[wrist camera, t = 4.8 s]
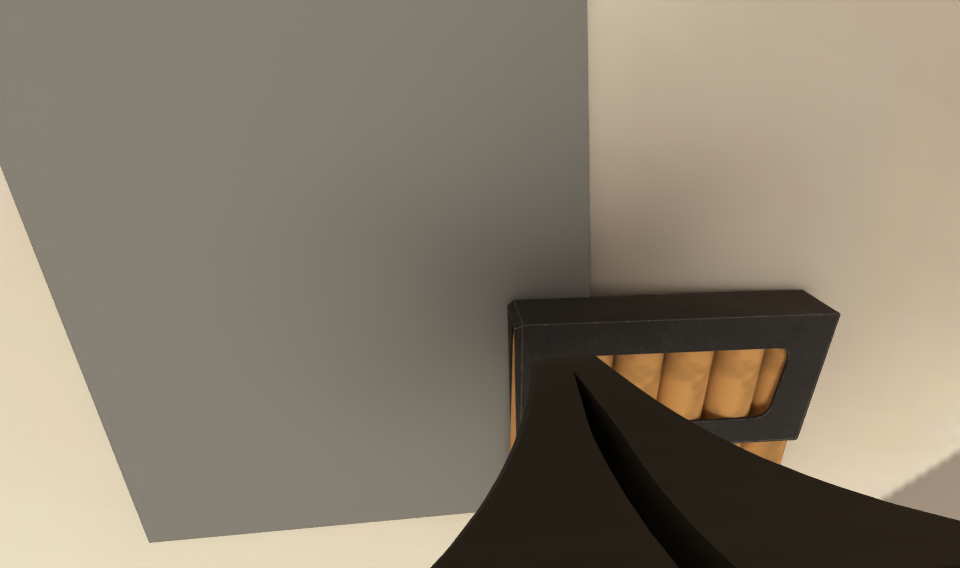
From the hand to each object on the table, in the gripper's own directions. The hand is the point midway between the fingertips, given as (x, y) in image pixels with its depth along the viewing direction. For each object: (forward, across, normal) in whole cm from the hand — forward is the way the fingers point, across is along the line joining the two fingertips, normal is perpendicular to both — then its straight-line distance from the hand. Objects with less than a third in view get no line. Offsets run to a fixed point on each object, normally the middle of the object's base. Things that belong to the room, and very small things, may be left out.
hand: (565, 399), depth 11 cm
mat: (+8, +7, 0) cm, 10 cm away
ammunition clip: (+7, -5, +1) cm, 8 cm away
